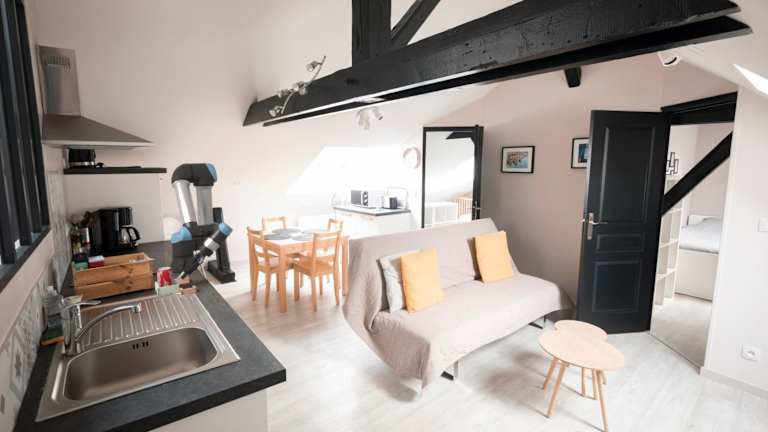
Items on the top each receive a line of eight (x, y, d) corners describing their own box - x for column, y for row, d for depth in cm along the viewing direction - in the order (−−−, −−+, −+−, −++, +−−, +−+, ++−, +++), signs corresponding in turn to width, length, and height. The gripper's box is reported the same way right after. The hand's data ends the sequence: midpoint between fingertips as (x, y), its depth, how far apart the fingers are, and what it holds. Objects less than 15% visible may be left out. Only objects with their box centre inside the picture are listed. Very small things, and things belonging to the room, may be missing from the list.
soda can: (170, 292, 194) (168, 270, 192) (155, 293, 194) (153, 270, 192) (176, 288, 201) (174, 266, 199) (162, 288, 201) (160, 266, 199)
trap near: (195, 289, 199) (194, 285, 198) (196, 292, 195) (196, 287, 195) (180, 292, 195) (179, 288, 194) (181, 295, 191) (181, 290, 191)
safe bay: (175, 285, 205) (175, 278, 204) (179, 292, 195) (179, 284, 195) (155, 289, 199) (154, 282, 199) (158, 296, 190) (157, 288, 189)
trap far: (188, 280, 213) (187, 276, 213) (189, 282, 210) (189, 278, 209) (174, 283, 209) (173, 278, 209) (175, 285, 206) (175, 280, 205)
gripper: (217, 254, 203) (185, 290, 196) (211, 249, 214) (180, 283, 207) (205, 245, 199) (172, 282, 192) (200, 241, 210) (168, 275, 203)
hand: (176, 283), depth 200 cm, fingers closed
